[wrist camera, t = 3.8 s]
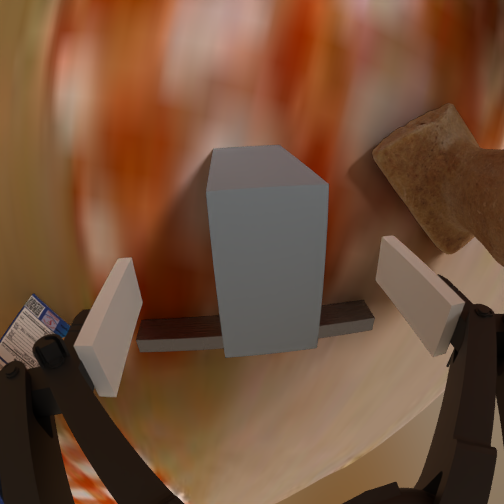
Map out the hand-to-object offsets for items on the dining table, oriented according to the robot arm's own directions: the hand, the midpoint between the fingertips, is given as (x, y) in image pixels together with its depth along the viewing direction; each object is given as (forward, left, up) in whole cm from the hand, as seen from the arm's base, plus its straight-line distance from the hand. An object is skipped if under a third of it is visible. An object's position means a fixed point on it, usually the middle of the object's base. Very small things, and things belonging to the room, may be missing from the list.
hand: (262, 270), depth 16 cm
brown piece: (-3, +19, -11) cm, 22 cm away
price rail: (+11, 0, -10) cm, 15 cm away
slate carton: (0, 0, -10) cm, 10 cm away
